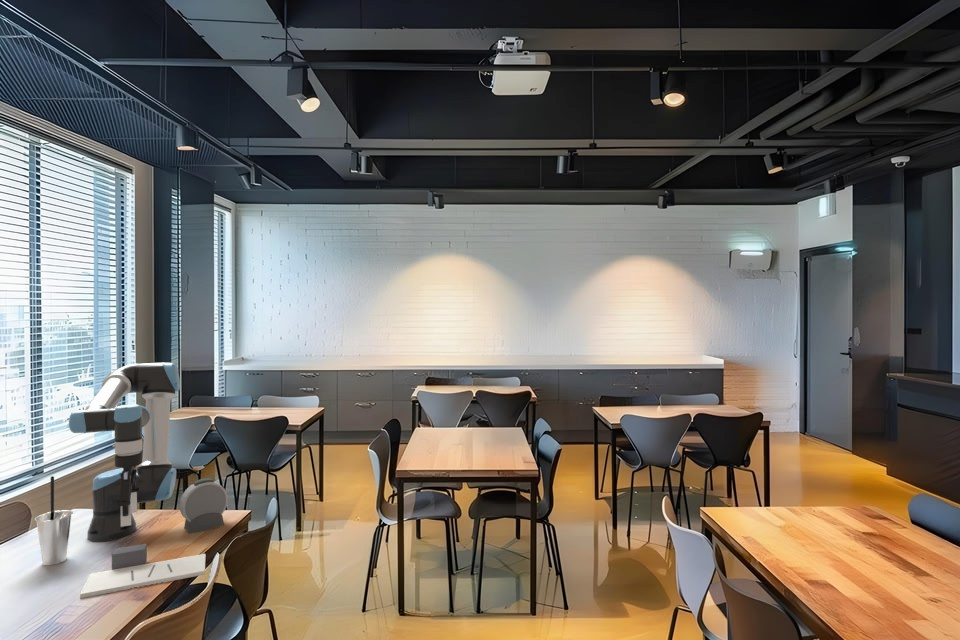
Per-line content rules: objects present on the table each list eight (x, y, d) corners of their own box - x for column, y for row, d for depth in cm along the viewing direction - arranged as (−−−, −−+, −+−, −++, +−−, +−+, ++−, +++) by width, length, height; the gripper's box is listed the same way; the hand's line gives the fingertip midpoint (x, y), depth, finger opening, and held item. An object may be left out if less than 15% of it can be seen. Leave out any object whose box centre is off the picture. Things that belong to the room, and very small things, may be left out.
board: (90, 577, 169) (90, 573, 169) (205, 557, 182) (205, 553, 182) (80, 598, 156) (80, 594, 156) (204, 574, 170) (204, 570, 170)
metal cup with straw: (53, 570, 174) (52, 477, 173) (24, 567, 176) (23, 475, 176) (84, 556, 184) (83, 467, 184) (56, 553, 186) (55, 466, 186)
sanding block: (114, 567, 176) (114, 548, 176) (146, 561, 180) (146, 543, 180) (111, 573, 171) (111, 554, 171) (145, 567, 175) (144, 549, 175)
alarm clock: (222, 517, 219) (221, 472, 219) (230, 524, 212) (230, 477, 212) (177, 528, 208) (177, 480, 208) (184, 535, 201) (184, 486, 201)
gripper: (120, 446, 185) (121, 508, 185) (107, 463, 163) (108, 534, 163) (146, 444, 188) (147, 505, 188) (137, 460, 166) (137, 529, 166)
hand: (129, 518), depth 175 cm, fingers open, 13 cm apart
